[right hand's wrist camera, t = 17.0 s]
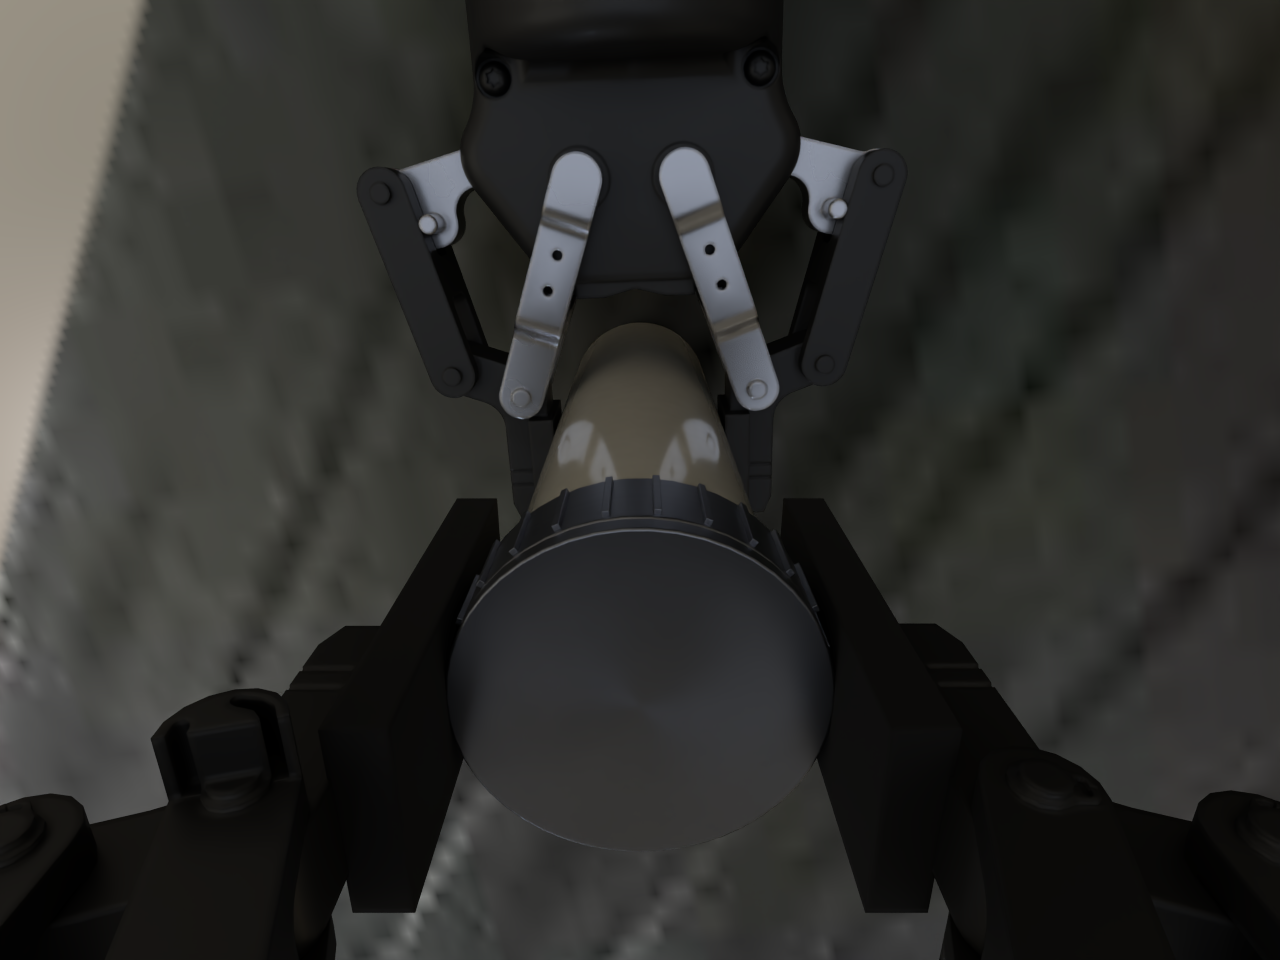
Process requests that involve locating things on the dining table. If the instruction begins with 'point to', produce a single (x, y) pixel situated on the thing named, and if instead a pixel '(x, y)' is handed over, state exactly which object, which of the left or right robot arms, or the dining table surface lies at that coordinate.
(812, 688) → the lid
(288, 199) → the dining table surface
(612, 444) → the jar
